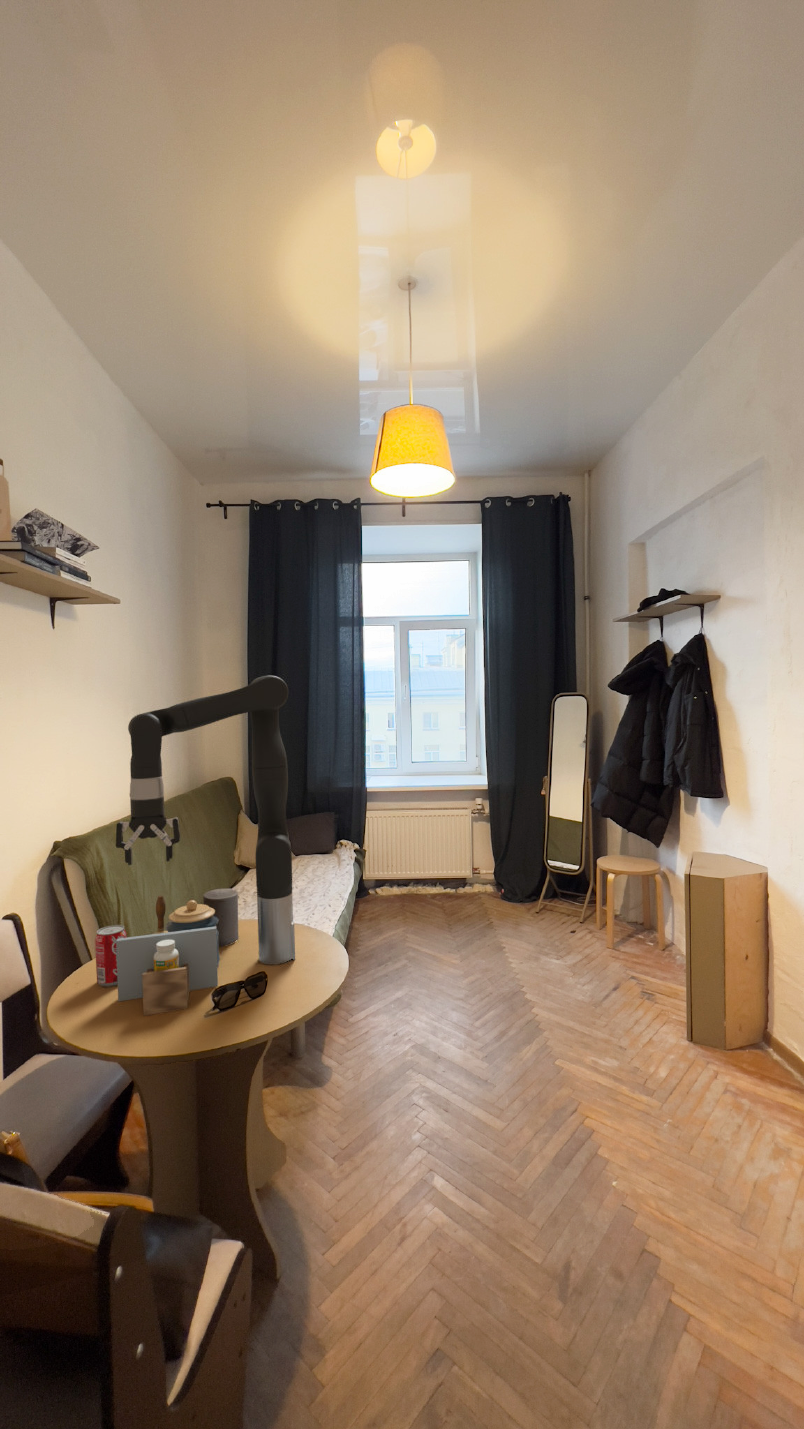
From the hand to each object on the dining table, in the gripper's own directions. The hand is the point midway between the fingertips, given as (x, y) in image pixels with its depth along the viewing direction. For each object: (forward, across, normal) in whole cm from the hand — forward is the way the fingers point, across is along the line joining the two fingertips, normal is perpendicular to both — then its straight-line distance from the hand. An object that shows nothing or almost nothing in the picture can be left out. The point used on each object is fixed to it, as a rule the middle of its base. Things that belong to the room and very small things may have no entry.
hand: (149, 862), depth 146 cm
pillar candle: (+30, -16, -24) cm, 42 cm away
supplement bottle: (+26, -4, +10) cm, 28 cm away
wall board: (+30, -4, +5) cm, 31 cm away
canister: (+30, -9, -7) cm, 32 cm away
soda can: (+30, +10, -6) cm, 32 cm away
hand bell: (+30, 0, -20) cm, 36 cm away
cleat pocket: (+30, -4, +10) cm, 32 cm away
